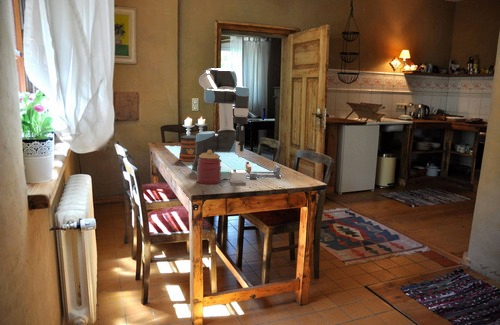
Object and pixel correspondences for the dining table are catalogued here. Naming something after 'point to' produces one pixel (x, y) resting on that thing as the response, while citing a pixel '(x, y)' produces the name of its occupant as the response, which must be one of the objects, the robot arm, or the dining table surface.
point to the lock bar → (248, 167)
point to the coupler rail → (265, 173)
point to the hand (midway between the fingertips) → (239, 155)
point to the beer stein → (188, 148)
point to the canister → (209, 168)
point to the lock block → (238, 176)
